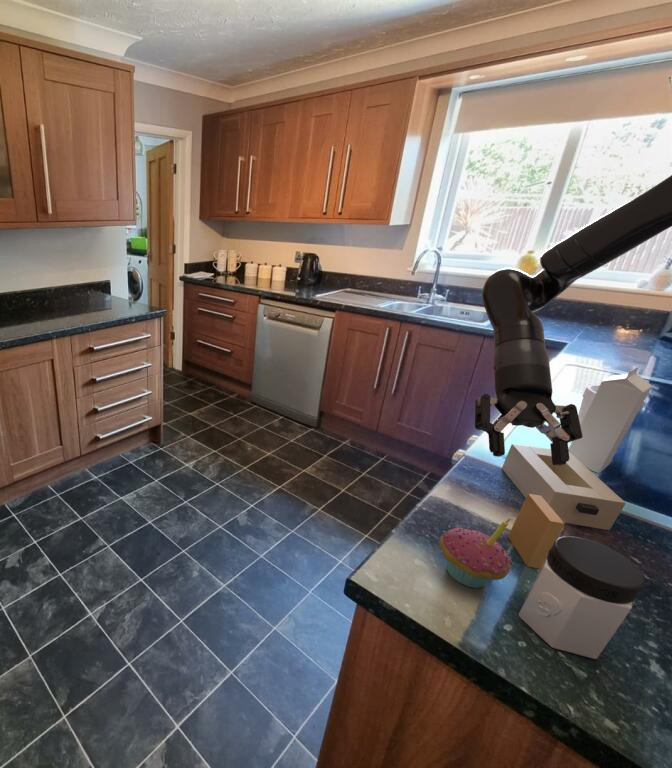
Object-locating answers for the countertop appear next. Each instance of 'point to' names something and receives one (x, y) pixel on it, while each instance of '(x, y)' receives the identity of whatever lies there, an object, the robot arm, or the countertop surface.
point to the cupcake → (475, 556)
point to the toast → (535, 530)
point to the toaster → (563, 487)
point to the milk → (609, 419)
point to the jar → (581, 596)
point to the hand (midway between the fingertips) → (529, 460)
